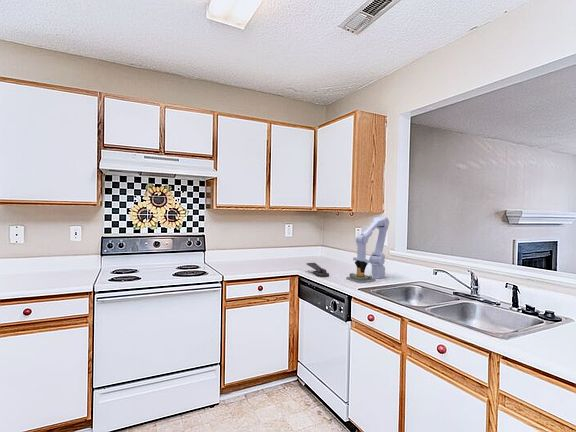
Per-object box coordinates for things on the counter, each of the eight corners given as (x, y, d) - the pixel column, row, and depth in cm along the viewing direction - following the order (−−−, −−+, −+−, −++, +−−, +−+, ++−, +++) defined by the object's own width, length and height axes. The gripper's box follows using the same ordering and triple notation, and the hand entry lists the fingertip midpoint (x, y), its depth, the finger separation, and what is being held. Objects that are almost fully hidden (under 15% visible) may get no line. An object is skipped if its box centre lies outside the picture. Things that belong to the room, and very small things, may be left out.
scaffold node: (358, 276, 242) (358, 271, 242) (375, 281, 227) (375, 275, 227) (343, 278, 235) (343, 272, 235) (360, 283, 220) (360, 277, 220)
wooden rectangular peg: (361, 278, 232) (361, 266, 232) (364, 279, 229) (364, 267, 229) (356, 278, 230) (356, 267, 229) (359, 279, 227) (359, 268, 227)
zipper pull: (315, 262, 262) (331, 267, 239) (315, 270, 262) (331, 277, 239) (305, 262, 259) (320, 268, 236) (305, 271, 259) (319, 277, 236)
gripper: (350, 251, 233) (349, 270, 234) (364, 254, 221) (363, 274, 221) (357, 251, 237) (357, 269, 237) (372, 253, 224) (371, 273, 225)
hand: (360, 272), depth 229 cm, fingers closed on wooden rectangular peg, 3 cm apart
